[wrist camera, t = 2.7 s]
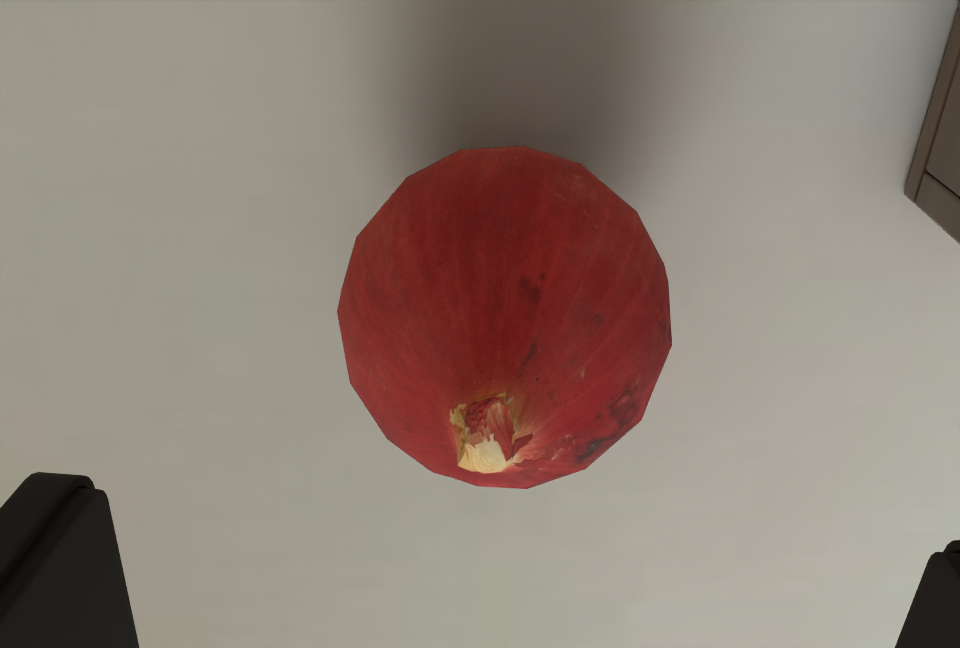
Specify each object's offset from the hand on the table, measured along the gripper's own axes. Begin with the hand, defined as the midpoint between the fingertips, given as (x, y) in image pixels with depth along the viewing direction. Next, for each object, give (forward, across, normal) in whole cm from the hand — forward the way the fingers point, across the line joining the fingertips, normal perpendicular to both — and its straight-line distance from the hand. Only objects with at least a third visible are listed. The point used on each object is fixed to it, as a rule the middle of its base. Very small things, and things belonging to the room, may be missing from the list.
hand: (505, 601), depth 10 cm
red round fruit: (+10, 0, -1) cm, 10 cm away
